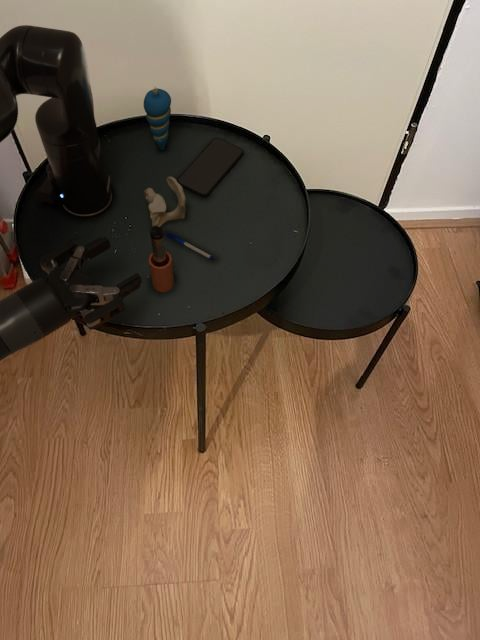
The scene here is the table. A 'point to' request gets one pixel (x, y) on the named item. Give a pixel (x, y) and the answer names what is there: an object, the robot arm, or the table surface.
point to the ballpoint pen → (189, 245)
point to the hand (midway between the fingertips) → (123, 259)
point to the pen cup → (162, 274)
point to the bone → (159, 205)
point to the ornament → (158, 114)
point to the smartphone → (210, 167)
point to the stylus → (158, 246)
